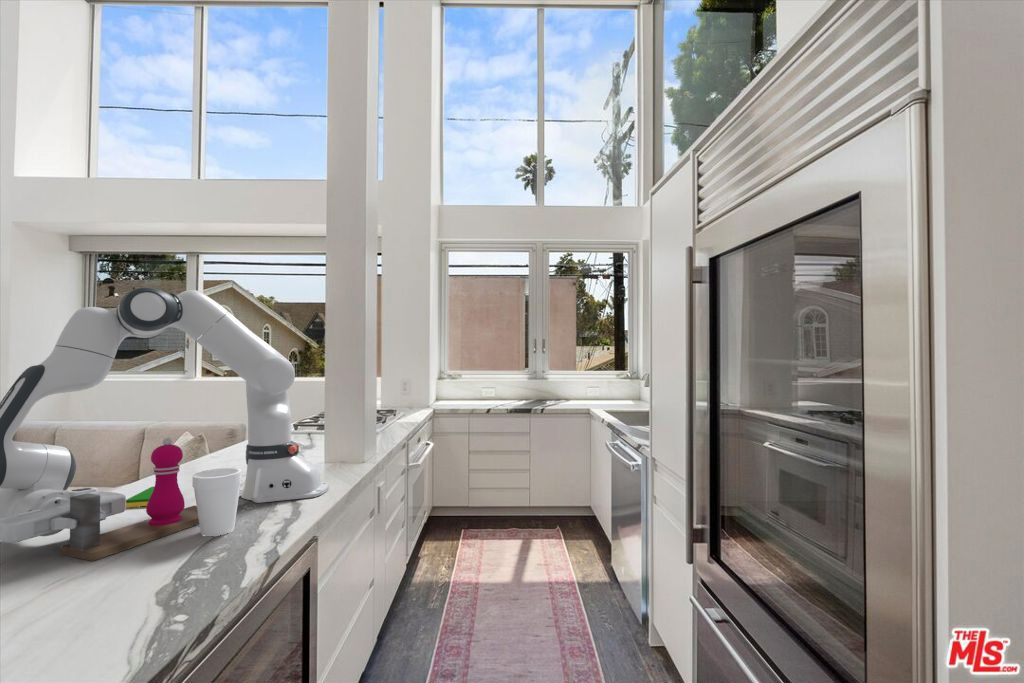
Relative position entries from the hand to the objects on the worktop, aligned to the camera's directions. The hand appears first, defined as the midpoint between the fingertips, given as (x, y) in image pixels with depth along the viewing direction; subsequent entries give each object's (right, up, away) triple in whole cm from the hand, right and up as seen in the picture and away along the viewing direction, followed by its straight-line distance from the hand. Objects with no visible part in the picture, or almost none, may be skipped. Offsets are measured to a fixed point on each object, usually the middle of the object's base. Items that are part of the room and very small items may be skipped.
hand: (89, 520), depth 100 cm
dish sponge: (-14, -8, +38) cm, 41 cm away
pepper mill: (+5, -7, +15) cm, 17 cm away
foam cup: (+18, -7, +12) cm, 23 cm away
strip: (+3, -7, +12) cm, 14 cm away
